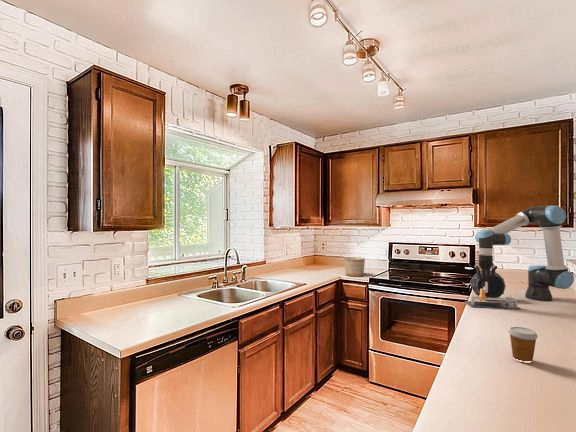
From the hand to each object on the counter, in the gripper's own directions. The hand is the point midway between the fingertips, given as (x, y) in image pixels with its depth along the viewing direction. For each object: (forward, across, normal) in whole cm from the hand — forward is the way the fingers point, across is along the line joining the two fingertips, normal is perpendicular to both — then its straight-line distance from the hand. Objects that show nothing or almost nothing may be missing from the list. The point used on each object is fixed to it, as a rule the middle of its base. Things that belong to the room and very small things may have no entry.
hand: (485, 292), depth 210 cm
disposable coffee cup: (+10, +19, +81) cm, 84 cm away
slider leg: (+8, +2, -1) cm, 8 cm away
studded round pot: (+10, -10, -21) cm, 25 cm away
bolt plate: (+9, -5, -4) cm, 11 cm away
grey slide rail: (+9, -5, -1) cm, 11 cm away
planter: (+10, +76, -98) cm, 125 cm away
